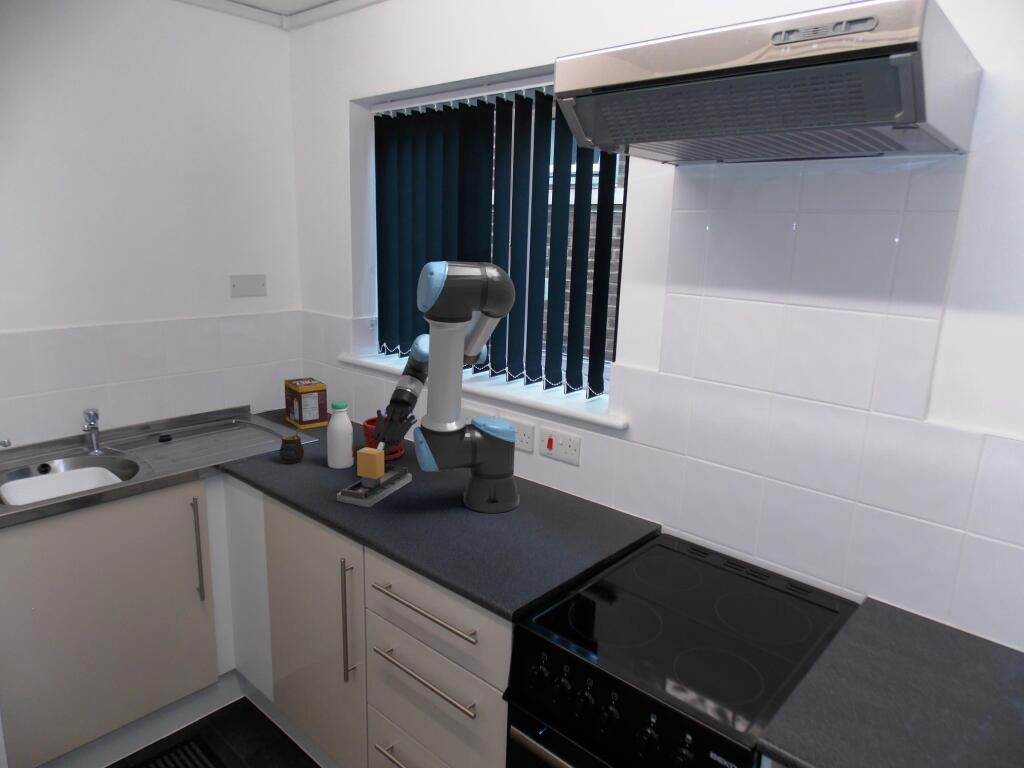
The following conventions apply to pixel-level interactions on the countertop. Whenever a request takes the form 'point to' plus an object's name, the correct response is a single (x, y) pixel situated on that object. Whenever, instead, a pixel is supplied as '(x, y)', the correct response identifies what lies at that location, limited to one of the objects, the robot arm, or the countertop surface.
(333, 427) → the milk bottle
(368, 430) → the plant pot
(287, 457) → the mate gourd
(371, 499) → the fader strip
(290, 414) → the supplement box
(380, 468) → the fader knob
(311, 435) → the countertop surface
